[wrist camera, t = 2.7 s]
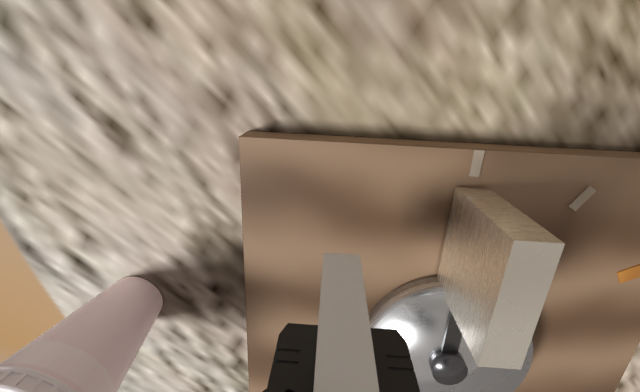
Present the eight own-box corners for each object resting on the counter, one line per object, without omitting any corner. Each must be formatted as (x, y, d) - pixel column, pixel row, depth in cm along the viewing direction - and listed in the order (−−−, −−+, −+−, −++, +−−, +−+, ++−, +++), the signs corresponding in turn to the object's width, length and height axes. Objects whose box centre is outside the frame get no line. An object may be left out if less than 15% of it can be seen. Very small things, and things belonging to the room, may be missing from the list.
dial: (378, 182, 17) (399, 233, 12) (568, 193, 17) (683, 250, 11) (354, 392, 23) (360, 496, 17) (498, 403, 22) (552, 512, 17)
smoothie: (132, 344, 25) (-93, 639, 12) (74, 281, 23) (-265, 548, 10) (198, 314, 24) (29, 609, 11) (143, 245, 22) (-144, 498, 9)
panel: (248, 130, 19) (238, 137, 17) (688, 154, 18) (731, 164, 16) (256, 391, 26) (250, 417, 24) (570, 415, 26) (590, 443, 24)
